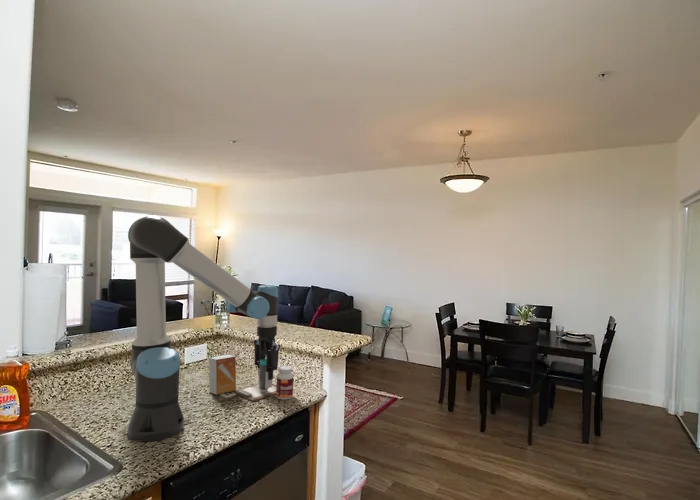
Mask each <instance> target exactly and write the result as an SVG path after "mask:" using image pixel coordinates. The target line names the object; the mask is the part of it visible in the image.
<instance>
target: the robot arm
mask: <svg viewBox="0 0 700 500" xmlns="http://www.w3.org/2000/svg"><path fill="white" fill-rule="evenodd" d="M127 236H128V237H127V238H128V242H129V259H130V260H131V261H132V262H133V263H134V264H135V300H136V301H135V302H136V308H135V309H136V337H135V338H134V339H133V340H132V341H131V358H130V361H129V362H130V363H129V365H130V369H131V372H132V373H133V376H134V378H135V405H134V406H135V407H134V409H133V412H132V415H131V417H130V420H129V423H128V425H127V426H128V427H127V436H128V438H129V439H131V440H133V441H137V442H155V441H160V440H164V439H168V438H170V437H173V436H174V435H175V436H176V435H177V434H179V433H180V432H181V431H182V430H183V429H184V426H185V425H184V424H185V419H184V413H183V412H182V407H181V406H180V403H179V396H180V395H179V392H180V367H181V358H180V354H179V352H178V350H176V349H174V348H172V338H171V337H170V336H169V335H168V334H167V320H166V317H167V316H166V315H167V313H166V311H167V310H166V307H167V306H166V263H167V264H169V263H172V264H174V265H175V266H176V267H179V268H180V269H182V270H183V271H184V272H186V274H189V276H191V277H193V279H195V280H197V281H199V282H200V283H201V284H202V285H204V286H205V287H207V288H208V289H210V290H211V291H212V292H214V293H216V294H217V295H218V296H219V297H221V298H223V299H224V300H225V301H224V302H225V308H226V309H225V310H226V311H227V312H228V313H236V314H237V313H241V314H244V315H245V316H248V317H250V318H251V319H253V320H255V319H256V322H257V323H256V325H257V326H256V335H257V337H258V338H257V339H254V340H253V345H254V346H253V347H254V365H255V366H257V370H258V371H257V375H258V377H259V375H260V359H267V370H266V381H265V388H266V389H267V388H270V387H272V384H273V379H274V371H277V370H278V368H279V367H278V366H279V355H280V352H279V351H280V348H281V345H280V344H277V342H276V339H275V337H276V336H277V335H278V327H277V325H278V306H279V305H278V304H279V288H278V286H276V285H272V284H265V285H264V284H262V285H259V286H258V288H257V290H255V291H253V290H251V288H249V287H248V286H247V285H245V284H244V283H243V282H241V281H240V280H239V279H237V278H236V277H235V276H233V275H232V274H231V273H229V272H228V270H226V269H224V268H223V267H221V266H220V265H219V264H217V262H215V261H213V260H212V259H211V258H209V256H207V255H206V254H204V253H202V252H201V251H200V250H199V249H198V248H196V247H195V246H194V245H192V244H191V243H190V240H189V237H187V236H186V235H185V234H184V233H182V232H181V231H180V230H179V229H177V228H176V227H175V226H174V225H173V224H171V223H170V221H168V220H167V219H165V218H163V217H161V216H158V215H147V216H143V217H140V218H139V219H136V220H135V221H133V223H132V224H131V226H130V227H129V228H128V233H127ZM257 384H258V386H259V381H258V383H257Z"/></svg>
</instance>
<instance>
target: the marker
mask: <svg viewBox="0 0 700 500" xmlns="http://www.w3.org/2000/svg"><path fill="white" fill-rule="evenodd" d="M266 370H267V359H266V358H265V359H260V375H259V376H258V382H259V389H260V392H262V393H265V392H268V388H267V389H266V388H265V381H266Z"/></svg>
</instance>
